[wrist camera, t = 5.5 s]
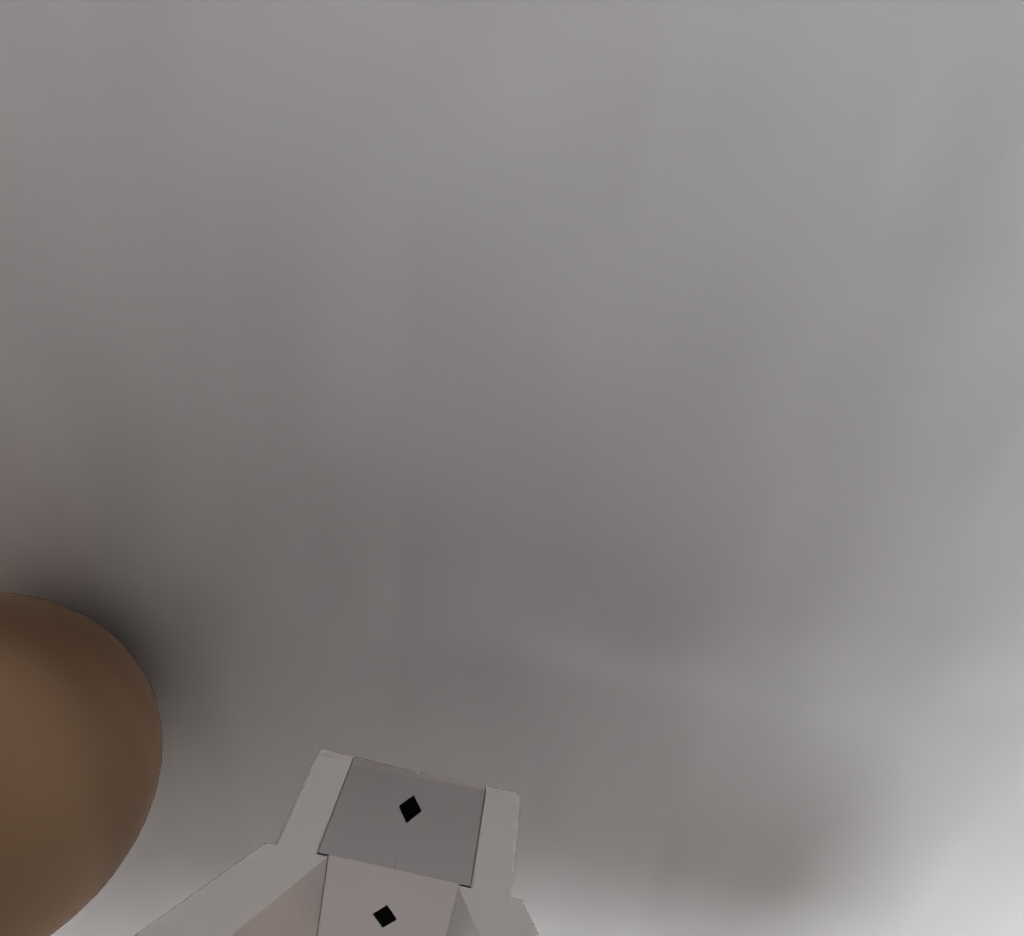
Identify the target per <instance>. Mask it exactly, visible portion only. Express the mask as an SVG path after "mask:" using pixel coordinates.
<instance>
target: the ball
mask: <svg viewBox="0 0 1024 936" xmlns="http://www.w3.org/2000/svg"><path fill="white" fill-rule="evenodd" d="M161 761H162V728H161V721H160V716H159V711H158V706H157V703H156V699H155V696H154V693H153V690H152V688H151V685H150V683H149V681H148V679H147V677H146V676H145V674H144V672H143V670H142V669H141V667H140V666H139V664H138V662H137V661H136V660H135V658H134V657H133V656H132V654H131V653H130V652H129V651H128V649H127V648H126V647H125V646H124V645H123V644H122V643H121V642H120V641H119V640H118V639H117V638H116V637H115V636H113V635H112V634H111V633H110V632H109V631H107V630H106V629H105V628H104V627H102V626H101V625H99V624H98V623H97V622H95V621H94V620H92V619H90V618H88V617H87V616H85V615H83V614H81V613H79V612H77V611H74V610H72V609H69V608H67V607H65V606H62V605H60V604H58V603H54V602H51V601H48V600H44V599H39V598H35V597H30V596H25V595H19V594H12V593H0V936H50V935H51V934H53V933H54V932H55V931H57V930H58V929H59V928H60V927H62V926H63V925H64V924H66V923H67V922H68V921H69V920H70V919H71V918H73V917H74V916H75V915H76V914H77V913H78V912H79V911H80V910H81V909H82V908H83V907H84V906H85V905H86V904H87V903H88V902H89V901H90V900H92V899H93V898H94V897H95V896H96V895H97V894H98V892H99V891H100V890H101V889H102V888H103V886H104V885H105V884H106V883H107V882H108V880H109V879H110V878H111V877H112V876H113V874H114V873H115V872H116V870H117V869H118V867H119V866H120V864H121V863H122V861H123V860H124V858H125V857H126V855H127V854H128V852H129V850H130V849H131V847H132V846H133V844H134V843H135V841H136V839H137V837H138V835H139V833H140V831H141V829H142V827H143V825H144V823H145V821H146V818H147V815H148V813H149V810H150V807H151V804H152V801H153V798H154V795H155V792H156V789H157V784H158V778H159V773H160V767H161Z"/></svg>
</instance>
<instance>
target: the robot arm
mask: <svg viewBox="0 0 1024 936" xmlns="http://www.w3.org/2000/svg"><path fill="white" fill-rule="evenodd" d="M519 811H520V796H519V793H515V792H510V791H506V790H501V789H497V788H492V787H487V786H486V788H485V786H484V785H480V784H475V783H470V782H465V781H461V780H456V779H451V778H446V777H441V776H437V775H432V774H427V773H422V772H420V773H418V772H414V771H410V770H406V769H402V768H398V767H394V766H390V765H386V764H382V763H378V762H374V761H371V760H367V759H363V758H359V757H352V756H348V755H344V754H340V753H336V752H332V751H328V750H324V749H321V751H320V752H319V753H318V755H317V756H316V757H315V759H314V761H313V763H312V766H311V768H310V770H309V772H308V775H307V777H306V779H305V781H304V784H303V786H302V788H301V790H300V792H299V795H298V797H297V799H296V801H295V804H294V806H293V808H292V810H291V812H290V815H289V817H288V819H287V821H286V824H285V826H284V828H283V830H282V832H281V835H280V837H279V839H278V841H277V844H276V845H275V844H270V843H265V844H263V845H262V846H260V847H259V848H257V849H256V850H255V851H253V852H252V853H250V854H249V855H248V856H246V857H245V858H243V859H242V860H241V861H239V862H238V863H236V864H235V865H234V866H232V867H231V868H229V869H228V870H227V871H225V872H224V873H222V874H221V875H219V876H218V877H217V878H215V879H214V880H212V881H211V882H210V883H208V884H207V885H205V886H204V887H203V888H201V889H200V890H198V891H197V892H196V893H194V894H193V895H191V896H190V897H188V898H187V899H186V900H184V901H183V902H181V903H180V904H179V905H177V906H176V907H174V908H173V909H172V910H170V911H169V912H167V913H166V914H165V915H163V916H162V917H160V918H159V919H158V920H156V921H155V922H153V923H152V924H150V925H149V926H148V927H146V928H145V929H143V930H142V931H141V932H139V933H138V934H136V935H135V936H539V934H538V932H537V930H536V928H535V926H534V924H533V922H532V920H531V918H530V916H529V914H528V912H527V910H526V908H525V906H524V904H523V902H522V900H520V899H516V898H512V886H513V876H514V865H515V854H516V843H517V832H518V822H519Z"/></svg>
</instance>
